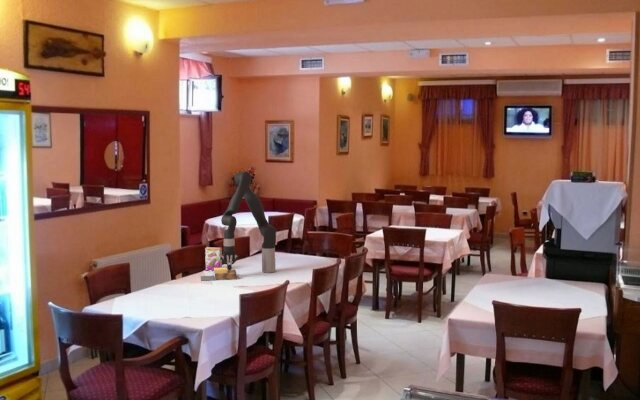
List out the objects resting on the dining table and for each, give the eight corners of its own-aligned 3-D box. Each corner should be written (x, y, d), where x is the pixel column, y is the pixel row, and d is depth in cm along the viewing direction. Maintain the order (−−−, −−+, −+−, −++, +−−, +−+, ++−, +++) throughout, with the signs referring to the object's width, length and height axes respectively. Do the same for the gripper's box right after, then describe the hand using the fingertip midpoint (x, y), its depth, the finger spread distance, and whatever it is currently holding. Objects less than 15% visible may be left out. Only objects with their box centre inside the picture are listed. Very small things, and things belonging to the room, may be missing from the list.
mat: (213, 276, 431) (213, 275, 431) (214, 280, 417) (214, 280, 417) (200, 276, 429) (200, 276, 429) (201, 281, 415) (201, 280, 415)
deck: (235, 275, 433) (235, 269, 433) (236, 279, 420) (236, 273, 420) (214, 276, 430) (214, 270, 430) (215, 280, 418) (215, 274, 417)
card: (227, 270, 428) (227, 267, 428) (227, 272, 422) (227, 269, 422) (213, 271, 427) (213, 267, 427) (213, 273, 421) (213, 269, 421)
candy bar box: (205, 270, 447) (204, 248, 446) (207, 269, 452) (206, 247, 451) (220, 271, 446) (220, 248, 445) (222, 269, 451) (221, 247, 450)
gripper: (238, 243, 429) (238, 268, 430) (219, 244, 426) (219, 269, 428) (239, 245, 421) (239, 270, 423) (219, 246, 419) (219, 271, 420)
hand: (229, 270), depth 425 cm, fingers closed
